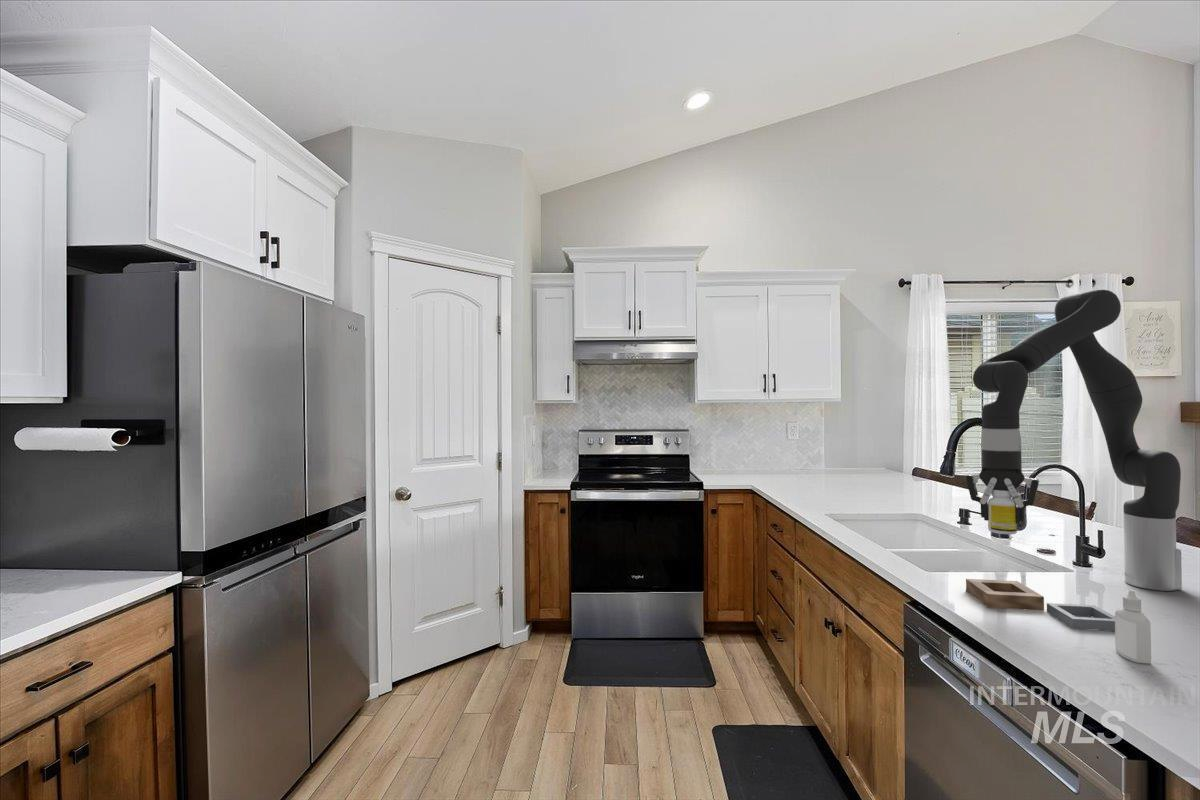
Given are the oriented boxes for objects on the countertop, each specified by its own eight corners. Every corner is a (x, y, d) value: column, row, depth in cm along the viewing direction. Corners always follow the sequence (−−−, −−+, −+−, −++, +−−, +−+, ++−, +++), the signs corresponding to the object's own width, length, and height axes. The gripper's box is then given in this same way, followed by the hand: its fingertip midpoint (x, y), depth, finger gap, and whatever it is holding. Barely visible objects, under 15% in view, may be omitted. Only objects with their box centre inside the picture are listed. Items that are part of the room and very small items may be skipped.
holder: (1094, 614, 120) (1094, 605, 120) (1124, 631, 112) (1124, 621, 112) (1046, 612, 122) (1046, 603, 122) (1072, 628, 113) (1072, 618, 113)
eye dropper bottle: (1118, 660, 100) (1117, 592, 100) (1114, 648, 104) (1113, 583, 104) (1152, 666, 97) (1151, 597, 97) (1147, 655, 102) (1146, 588, 102)
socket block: (1017, 593, 134) (1017, 581, 134) (1044, 610, 123) (1043, 596, 123) (966, 591, 136) (966, 578, 136) (988, 607, 125) (987, 594, 125)
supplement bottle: (1022, 535, 127) (1021, 491, 127) (995, 534, 128) (994, 491, 128) (1009, 530, 132) (1009, 488, 132) (983, 529, 133) (983, 487, 133)
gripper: (1041, 448, 128) (1043, 522, 128) (966, 445, 137) (968, 515, 137) (1039, 450, 122) (1040, 528, 122) (961, 448, 132) (962, 520, 132)
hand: (1002, 521), depth 130 cm, fingers closed on supplement bottle, 5 cm apart
